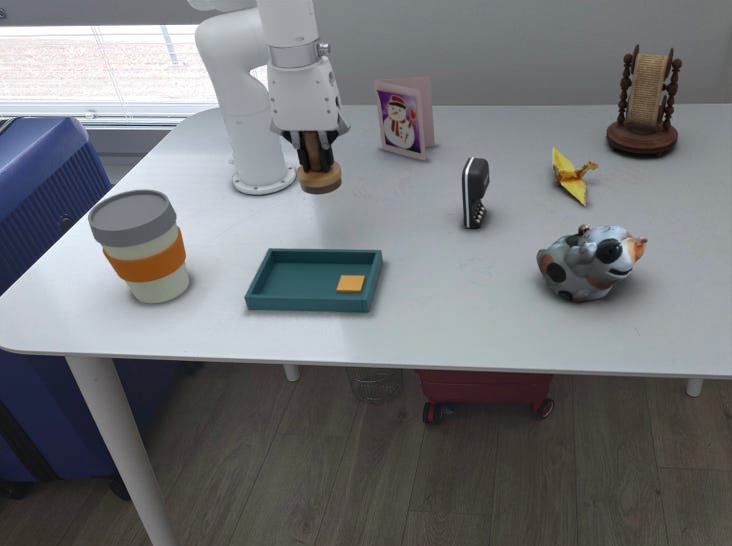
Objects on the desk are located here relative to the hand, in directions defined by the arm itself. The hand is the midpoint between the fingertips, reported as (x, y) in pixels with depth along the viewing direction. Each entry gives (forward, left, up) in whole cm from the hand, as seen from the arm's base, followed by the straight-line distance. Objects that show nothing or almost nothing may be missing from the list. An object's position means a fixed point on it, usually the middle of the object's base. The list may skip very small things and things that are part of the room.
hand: (318, 167), depth 113 cm
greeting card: (-11, +37, -16) cm, 41 cm away
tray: (+6, -10, -15) cm, 20 cm away
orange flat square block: (+11, -7, -15) cm, 20 cm away
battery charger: (+17, +21, -16) cm, 31 cm away
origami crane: (+25, +41, -16) cm, 50 cm away
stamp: (0, 0, -3) cm, 3 cm away
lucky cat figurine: (+43, +15, -16) cm, 48 cm away
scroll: (+30, +64, -16) cm, 72 cm away
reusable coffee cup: (-17, -24, -16) cm, 34 cm away
